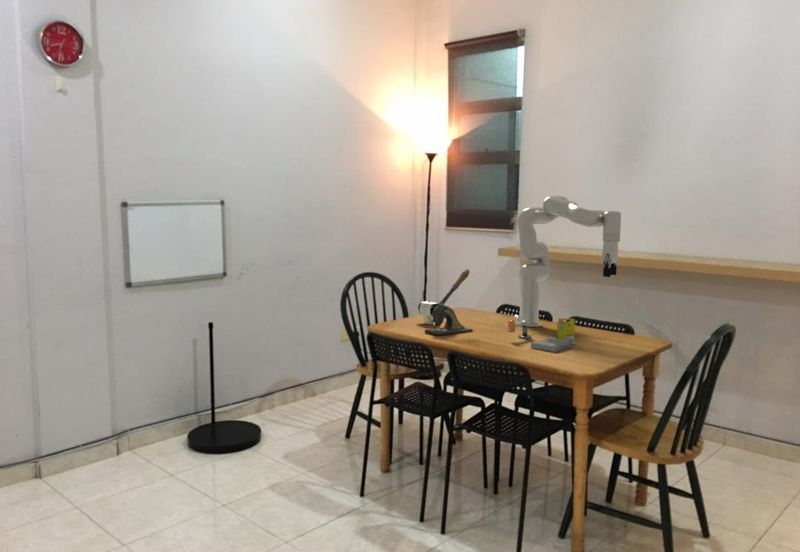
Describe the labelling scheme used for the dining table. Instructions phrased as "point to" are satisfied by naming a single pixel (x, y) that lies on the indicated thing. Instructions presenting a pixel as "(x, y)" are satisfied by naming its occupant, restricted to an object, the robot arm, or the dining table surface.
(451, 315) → the embossing press
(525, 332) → the lever post
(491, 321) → the dining table surface
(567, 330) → the crayon box
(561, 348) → the plate
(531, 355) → the dining table surface
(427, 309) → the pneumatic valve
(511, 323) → the press lever
